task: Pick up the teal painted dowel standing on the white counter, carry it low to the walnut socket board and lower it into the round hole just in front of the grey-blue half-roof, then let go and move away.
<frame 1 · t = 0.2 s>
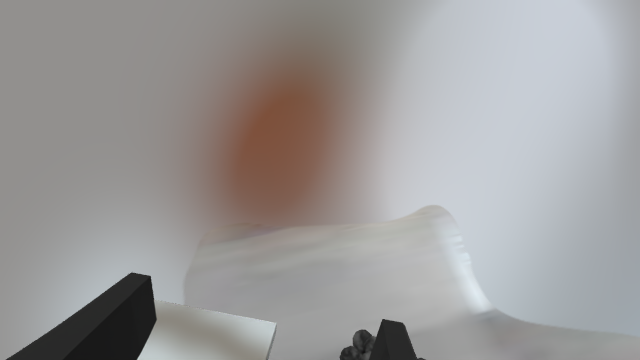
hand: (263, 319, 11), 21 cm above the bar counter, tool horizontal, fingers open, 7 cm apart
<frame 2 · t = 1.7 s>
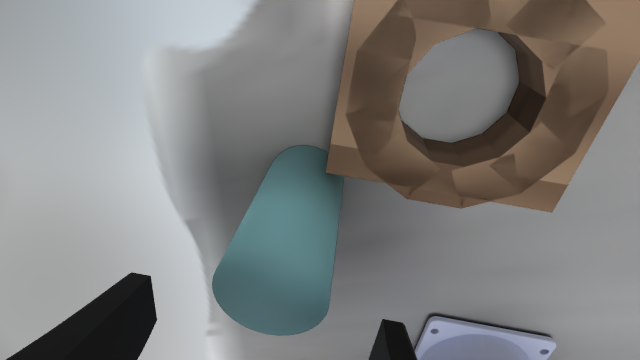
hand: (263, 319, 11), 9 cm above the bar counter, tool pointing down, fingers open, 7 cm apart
socket station: (479, 13, 14), on the bar counter
peg: (306, 179, 19), on the bar counter
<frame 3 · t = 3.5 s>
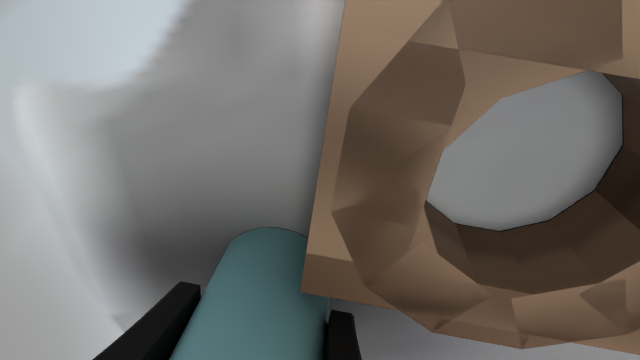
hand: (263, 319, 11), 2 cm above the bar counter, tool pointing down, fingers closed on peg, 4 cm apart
socket station: (566, 34, 8), on the bar counter
peg: (277, 272, 13), on the bar counter, touching gripper
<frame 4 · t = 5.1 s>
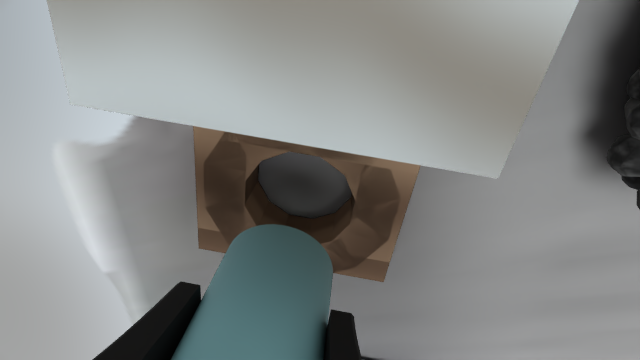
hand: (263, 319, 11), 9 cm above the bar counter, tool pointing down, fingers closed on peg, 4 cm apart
socket station: (313, 125, 17), on the bar counter
peg: (279, 268, 13), point 7 cm above the bar counter, touching gripper
when the fingers open (3 cm above the bar counter, at t = 7.3 s): peg stays where it is, resting in socket station.
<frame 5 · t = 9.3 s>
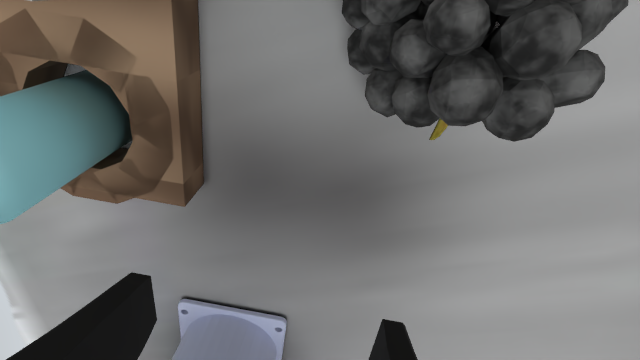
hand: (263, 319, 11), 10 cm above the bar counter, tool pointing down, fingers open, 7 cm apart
socket station: (100, 44, 17), on the bar counter
peg: (111, 105, 19), resting in socket station
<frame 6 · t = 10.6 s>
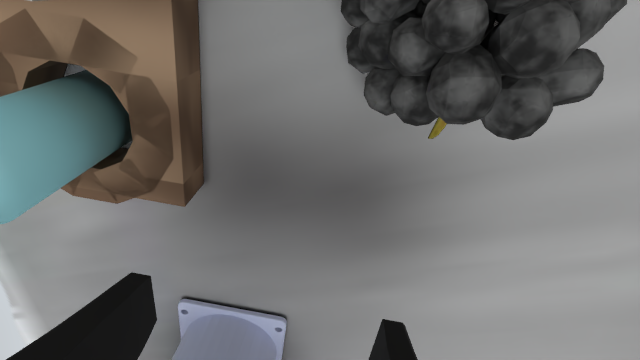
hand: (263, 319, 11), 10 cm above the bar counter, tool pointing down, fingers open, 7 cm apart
socket station: (100, 44, 17), on the bar counter
peg: (111, 105, 19), resting in socket station
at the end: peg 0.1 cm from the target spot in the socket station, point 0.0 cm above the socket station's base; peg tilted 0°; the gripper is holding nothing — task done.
